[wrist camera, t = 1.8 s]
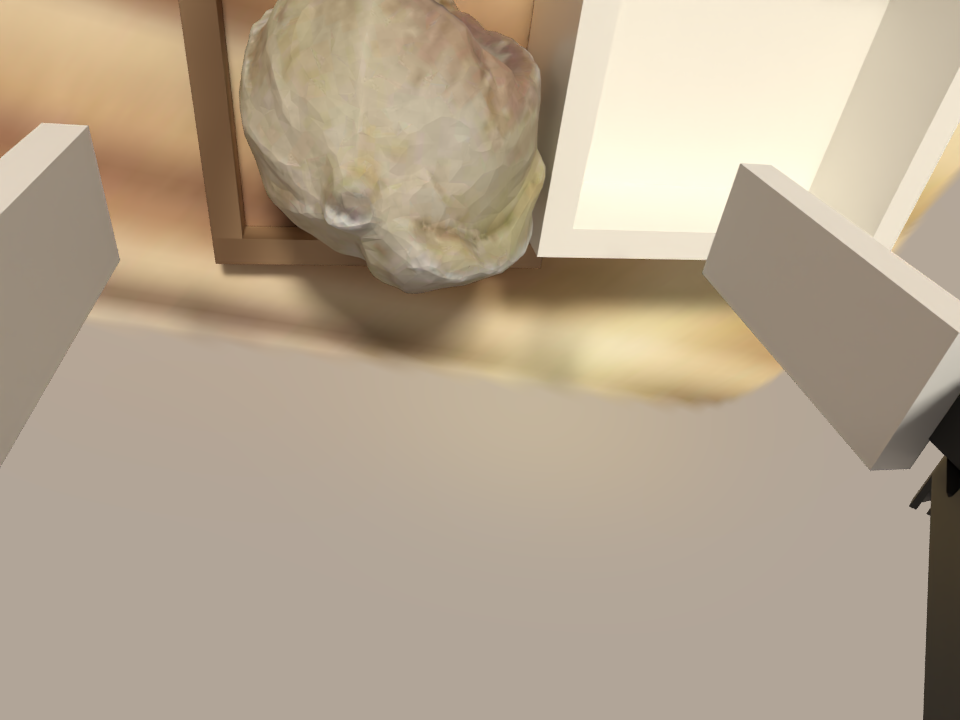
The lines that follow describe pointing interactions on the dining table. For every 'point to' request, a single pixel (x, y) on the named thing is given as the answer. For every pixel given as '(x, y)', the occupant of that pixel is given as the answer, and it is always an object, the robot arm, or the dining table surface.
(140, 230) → the dining table surface
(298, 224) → the garlic bulb
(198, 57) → the frame
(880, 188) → the open box
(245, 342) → the dining table surface
